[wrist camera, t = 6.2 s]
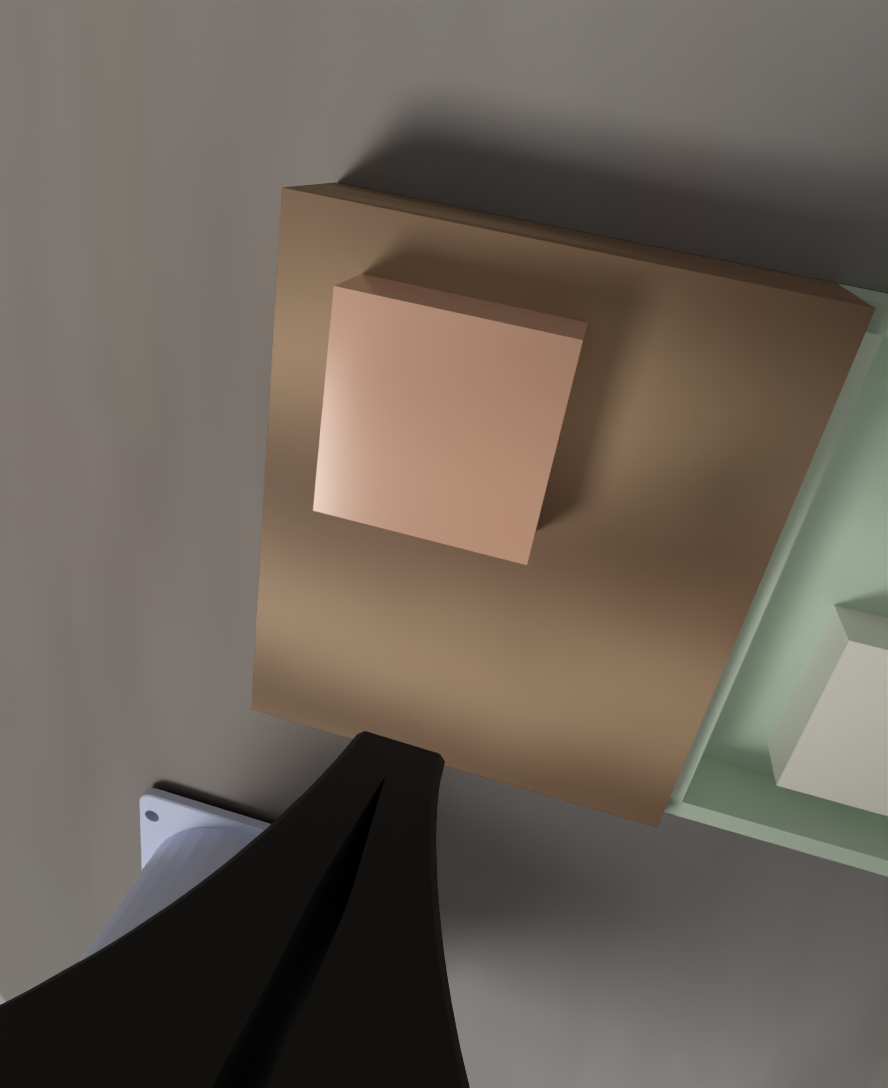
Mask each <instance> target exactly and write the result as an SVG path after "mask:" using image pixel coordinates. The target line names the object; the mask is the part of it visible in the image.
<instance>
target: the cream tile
mask: <svg viewBox="0 0 888 1088" xmlns="http://www.w3.org/2000/svg"><path fill="white" fill-rule="evenodd" d="M767 744H768V749H769V753H770V758H771V763H772V767H773V772H774V777H775V781H776V785H777V786H780V787H784V788H787V789H791V790H795V791H798V792H802V793H806V794H809V795H813V796H816V797H820V798H824V799H827V800H831V801H835V802H838V803H842V804H845V805H849V806H853V807H856V808H860V809H864V810H867V811H871V812H874V813H878V814H882V815H885V816H888V618H887V617H883V616H879V615H875V614H870V613H866V612H862V611H858V610H854V609H850V608H846V607H842V606H838V605H834V604H833V607H832V609H831V611H830V613H829V615H828V617H827V619H826V621H825V623H824V625H823V628H822V630H821V632H820V634H819V636H818V638H817V640H816V642H815V644H814V646H813V649H812V651H811V653H810V655H809V657H808V659H807V661H806V663H805V665H804V667H803V670H802V672H801V674H800V676H799V678H798V680H797V682H796V684H795V686H794V688H793V691H792V693H791V695H790V697H789V699H788V701H787V703H786V705H785V707H784V709H783V712H782V714H781V716H780V718H779V720H778V722H777V724H776V726H775V728H774V730H773V733H772V735H771V737H770V739H769V741H768V743H767Z"/></svg>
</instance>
